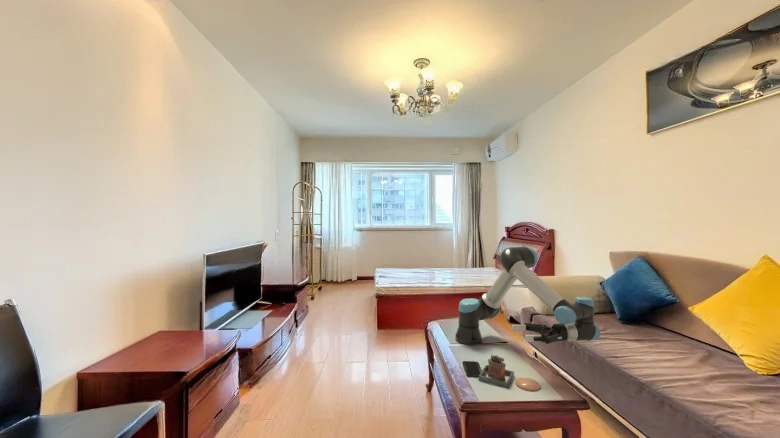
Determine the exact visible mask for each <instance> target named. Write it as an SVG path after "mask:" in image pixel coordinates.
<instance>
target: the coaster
mask: <svg viewBox="0 0 780 438" xmlns="http://www.w3.org/2000/svg"><path fill="white" fill-rule="evenodd" d="M514 381H515V386H516V387H518V388H519V389H521V390H524V391H527V392H537V391H539V390H541V384H540V383H539V381H538V380H535V379H532V378H529V377H518V378H516V379H515V380H514Z"/></svg>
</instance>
